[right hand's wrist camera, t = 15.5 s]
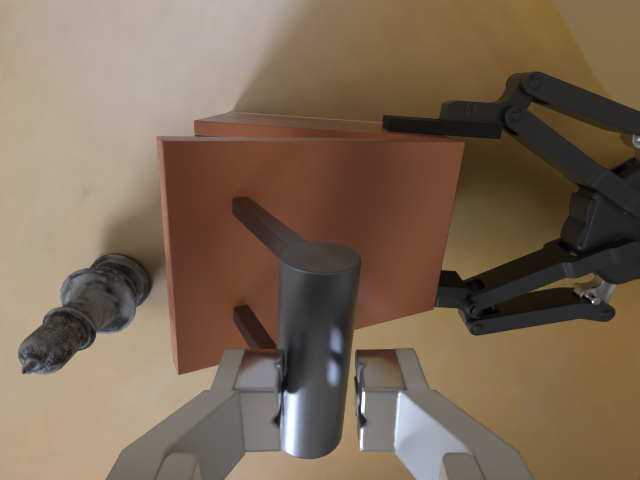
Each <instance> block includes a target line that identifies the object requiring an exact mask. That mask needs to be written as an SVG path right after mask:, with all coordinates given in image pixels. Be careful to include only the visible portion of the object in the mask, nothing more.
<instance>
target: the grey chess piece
mask: <svg viewBox="0 0 640 480" xmlns="http://www.w3.org/2000/svg"><path fill="white" fill-rule="evenodd" d="M149 290H150V283H149V278H148V276H147V274H146V272H145V270H144V269H143V268H142V267H141V266H140V265H139V264H138V263H137V262H135V261H134V260H132V259H130V258H128V257H126V256H122V255H107V256H103V257H101V258H99V259H98V260H96V261H95V262H94V263H93V265H92V266H91V268H86V269H82V270H78V271H76V272H74V273H73V274H71V275H70V276H68V278H67V279H66V280H65V281H64V282H63V285H62V288H61V302H62V307H58V308H54V309H53V310H51V311H49V312H48V313H47V314H46V315H45V317H44V320H43V325H41V326H40V327H39V328H38V329H37V330H35V331H34V332H33V333H32V334H31V335H29V336H28V337H27V338H26V339H25V340H24V341H23V342H22V343H21V345H20V347H19V350H18V356H19V360H20V362H21V364H22V365H23V366H22V374H30V373H32V372H34V373H37V374H51V373H54V372H56V371H58V370H60V369H61V368H62V367H63V366H64V365H65V364H66V363H67V362H68V361H69V360H70V359H71V358H72V357H73V356H74V354H75V353H76V352H77V351H80V350H84V349H86V348H88V347H90V345H91V344H92V343H93V342H94V340H95V338H96V333H99V334H112V333H116V332H119V331H121V330H123V329H124V328H126V327H127V326H128V325H129V324H130V323H131V322H132V320H133V318H134V316H135V312H136V307H137V306H139V305H140V304H142V303H143V302H144V301H145V299H146V298H147V296H148V294H149Z"/></svg>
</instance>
